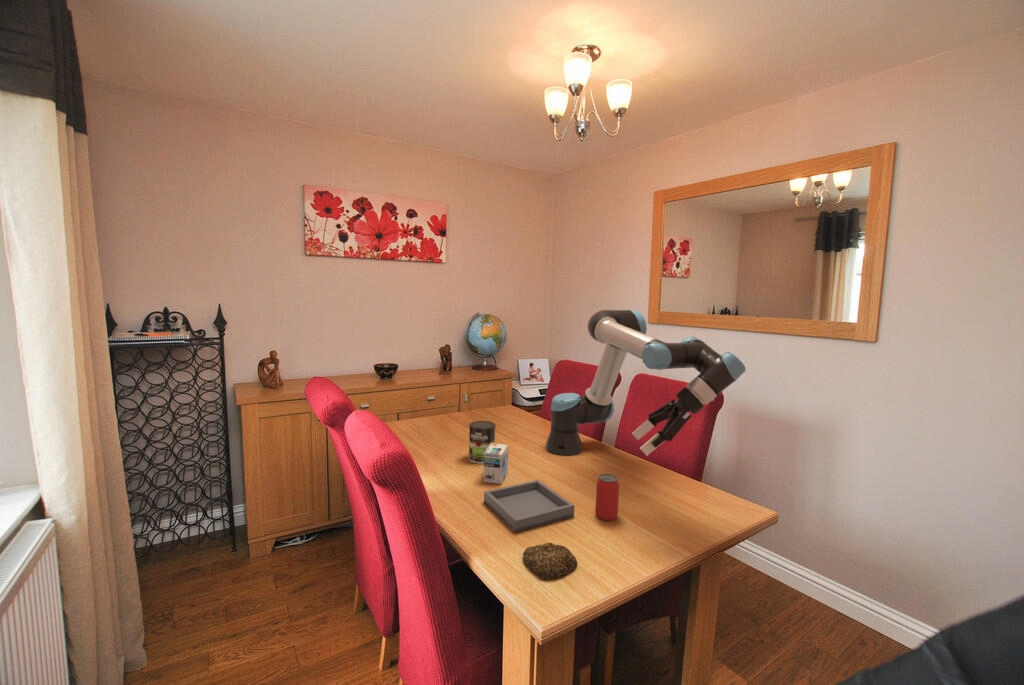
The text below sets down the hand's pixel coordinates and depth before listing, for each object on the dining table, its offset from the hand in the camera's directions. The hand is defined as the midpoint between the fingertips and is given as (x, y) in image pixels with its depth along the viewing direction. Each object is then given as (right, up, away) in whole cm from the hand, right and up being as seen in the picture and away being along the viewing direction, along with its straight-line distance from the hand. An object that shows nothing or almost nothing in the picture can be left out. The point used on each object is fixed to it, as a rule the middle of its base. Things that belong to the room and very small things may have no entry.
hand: (638, 444), depth 131 cm
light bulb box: (-43, -19, +28) cm, 55 cm away
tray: (-32, -21, +6) cm, 39 cm away
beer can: (-9, -22, +3) cm, 24 cm away
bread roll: (-28, -25, -21) cm, 43 cm away
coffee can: (-49, -16, +45) cm, 69 cm away
